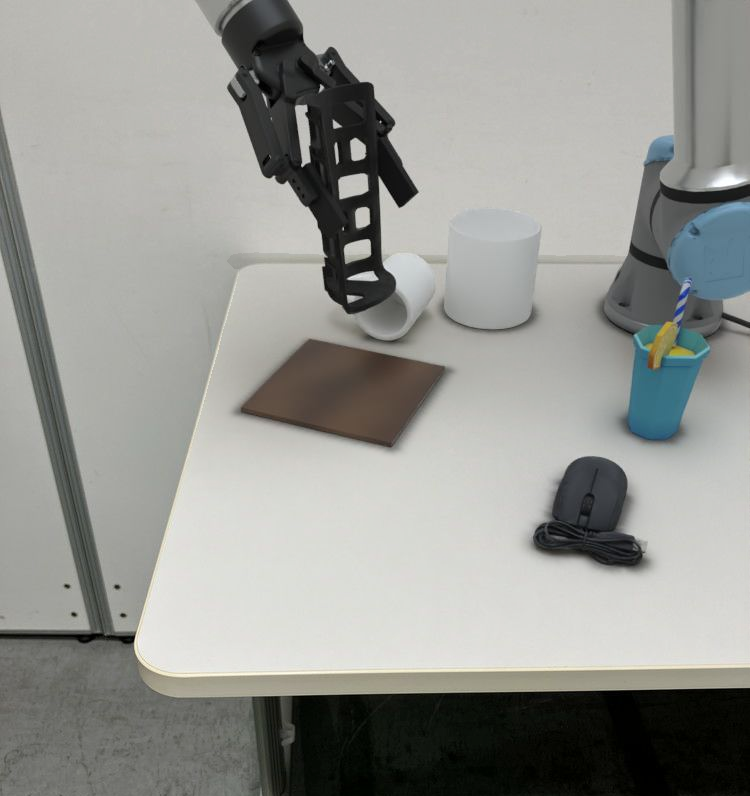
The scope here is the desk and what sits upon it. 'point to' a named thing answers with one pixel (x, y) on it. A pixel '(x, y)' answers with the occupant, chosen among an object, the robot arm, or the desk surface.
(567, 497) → the computer mouse
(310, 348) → the board
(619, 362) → the desk surface
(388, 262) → the mug
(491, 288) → the cup
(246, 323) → the desk surface
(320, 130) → the holder
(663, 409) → the cup
